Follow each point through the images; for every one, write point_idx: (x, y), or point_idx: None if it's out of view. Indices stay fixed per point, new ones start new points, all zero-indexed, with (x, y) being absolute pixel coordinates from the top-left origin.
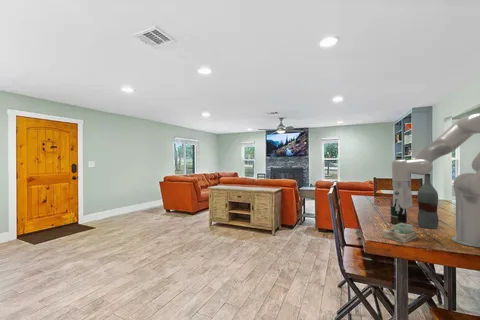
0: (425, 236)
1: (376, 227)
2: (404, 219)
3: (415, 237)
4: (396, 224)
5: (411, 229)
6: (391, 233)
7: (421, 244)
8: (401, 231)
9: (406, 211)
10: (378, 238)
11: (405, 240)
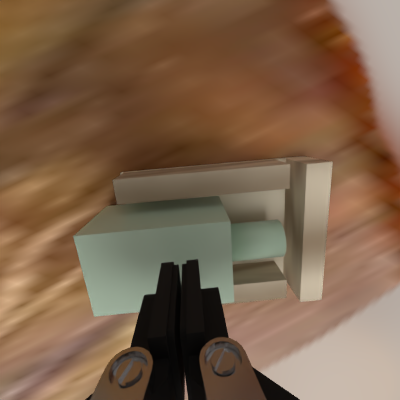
0: (34, 158)
1: None
2: (200, 284)
3: (143, 170)
4: None
5: (112, 219)
6: (320, 243)
7: (242, 84)
8: (235, 228)
9: (119, 393)
10: (339, 268)
11: (294, 159)
